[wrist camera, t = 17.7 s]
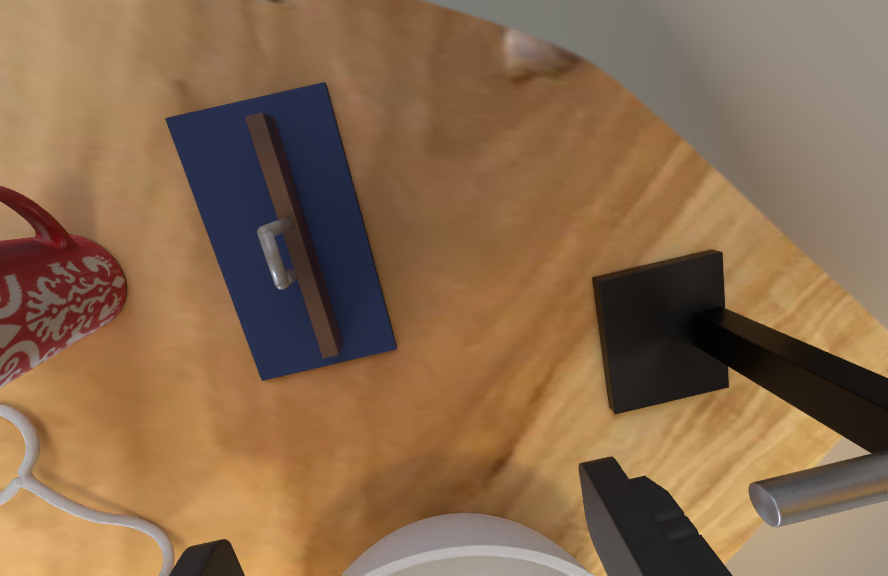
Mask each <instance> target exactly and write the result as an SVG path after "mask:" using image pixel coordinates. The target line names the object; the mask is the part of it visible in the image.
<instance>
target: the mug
mask: <svg viewBox="0 0 888 576" xmlns="http://www.w3.org/2000/svg"><path fill="white" fill-rule="evenodd" d="M0 201H1V202H3V203H4V204H5V205H7V206H9V207H10V208H12V209H13V210H14V211H16V212H17V213H18V214H19V215H21V216H22V217H23V218H24V219H25V220H27V221H28V222H29V223H30V225H31V226H32V227H33V228H34V230H35V232H36V236H35V237H30V238H22V239H13V240H4V241H0V388H1V387H3V386H5V385H6V384H8V383H10V382H11V381H13V380H14V379H16V378H18V377H19V376H21V375H23V374H24V373H26V372H28V371H30V370H31V369H33V368H34V367H36V366H37V365H39V364H41V363H42V362H44V361H45V360H47V359H49V358H51V357H52V356H54V355H56V354H58V353H59V352H61V351H63V350H64V349H66V348H67V347H69V346H70V345H72V344H73V343H75V342H77V341H79V340H80V339H82V338H84V337H85V336H87V335H89V334H91V333H92V332H94V331H96V330H98V329H99V328H101V327H103V326H104V325H106V324H107V323H109V322H110V321H111V320H113V319H114V318H115V317H116V316H117V315H118V313H119V312H120V311H121V309H122V306H123V304H124V302H125V297H126V284H125V279H124V276H123V273H122V271H121V269H120V267H119V265H118V263H117V262H116V261H115V259H114V258H113V257H112V256H111V255H110V254H109V253H108V252H107V251H106V250H105V249H104V248H102V247H101V246H100V245H98V244H96V243H95V242H93V241H91V240H89V239H86V238H84V237H80V236H76V235H71V234H68V232H67V231H66V230H65V229H64V228H63V227H62V226H61V225H60V223H59V222H58V221H57V220H56V219H54V218H53V217H52V216H51V215H50V214H49V213H48V212H47V211H46V210H44V209H43V208H42V207H40V206H39V205H38V204H37V203H35V202H34V201H32V200H31V199H29V198H27V197H26V196H24V195H22V194H20V193H18V192H16V191H13V190H11V189H9V188H6V187H3V186H0Z"/></svg>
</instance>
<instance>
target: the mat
mask: <svg viewBox="0 0 888 576" xmlns="http://www.w3.org/2000/svg"><path fill="white" fill-rule="evenodd" d="M259 113H264V114H267V115H269V116H272V117H274V118H275V121H276V125H277V128H278V131H279V134H280V138H281V141H282V144H283V147H284V151H285V154H286V157H287V160H288V164H289V167H290V170H291V173H292V177H293V180H294V183H295V186H296V190H297V193H298V196H299V199H300V203H301V206H302V209H303V212H304V216H305V219H306V222H307V225H308V229H309V232H310V235H311V238H312V242H313V245H314V248H315V251H316V255H317V258H318V261H319V264H320V268H321V271H322V274H323V277H324V281H325V284H326V287H327V290H328V294H329V297H330V300H331V303H332V307H333V310H334V313H335V316H336V320H337V323H338V326H339V329H340V333H341V336H342V339H343V345H342V348H341V350H340V352H339V355H335V356H331V357H327V358H323V356H322V353H321V350H320V347H319V344H318V341H317V338H316V335H315V332H314V329H313V326H312V322H311V319H310V316H309V313H308V310H307V307H306V304H305V301H304V298H303V295H302V292H301V289H300V286H299V282H298V279H297V278H296V280H295V281H294V282H292V283H291V284H290V285H289V286H288V287H287V288H285V289H278V288H277V287H276V286H275V284H274V281H273V278H272V275H271V272H270V269H269V266H268V263H267V260H266V257H265V254H264V251H263V249H262V246H261V243H260V240H259V237H258V234H257V231H258V229H259V227H261V226H263V225H266V224H269V223H272V222H275V221H277V220H278V218H277V215H276V212H275V209H274V206H273V202H272V199H271V196H270V193H269V190H268V187H267V184H266V181H265V178H264V175H263V172H262V169H261V166H260V162H259V159H258V156H257V153H256V150H255V147H254V144H253V141H252V138H251V135H250V132H249V129H248V126H247V122H246V119H245V117H246V116H250V115H254V114H259ZM165 119H166V122H167V125H168V127H169V130H170V133H171V135H172V138H173V141H174V144H175V146H176V149H177V152H178V154H179V157H180V160H181V163H182V165H183V168H184V171H185V173H186V176H187V179H188V182H189V184H190V187H191V190H192V192H193V195H194V198H195V201H196V203H197V206H198V209H199V211H200V214H201V217H202V220H203V222H204V225H205V228H206V230H207V233H208V236H209V239H210V241H211V244H212V247H213V249H214V252H215V255H216V258H217V260H218V263H219V266H220V268H221V271H222V274H223V277H224V279H225V282H226V285H227V287H228V290H229V293H230V296H231V298H232V301H233V304H234V306H235V309H236V312H237V315H238V317H239V320H240V323H241V325H242V328H243V331H244V334H245V336H246V339H247V342H248V344H249V347H250V350H251V353H252V355H253V358H254V361H255V363H256V366H257V369H258V372H259V374H260V377H261V380H262V381H263V380H268V379H272V378H276V377H280V376H285V375H289V374H293V373H298V372H302V371H306V370H310V369H315V368H319V367H323V366H327V365H332V364H336V363H340V362H344V361H349V360H353V359H357V358H362V357H366V356H370V355H374V354H379V353H383V352H387V351H391V350H396V349H397V345H396V341H395V338H394V334H393V330H392V326H391V323H390V319H389V315H388V312H387V308H386V304H385V301H384V297H383V293H382V289H381V286H380V282H379V278H378V275H377V271H376V267H375V263H374V260H373V256H372V252H371V249H370V245H369V241H368V237H367V234H366V230H365V226H364V223H363V219H362V215H361V211H360V208H359V204H358V200H357V197H356V193H355V189H354V185H353V182H352V178H351V174H350V171H349V167H348V163H347V160H346V156H345V152H344V148H343V145H342V141H341V137H340V134H339V130H338V126H337V122H336V119H335V115H334V111H333V108H332V104H331V100H330V96H329V93H328V89H327V85H326V83H325V82H324V83H319V84H315V85H311V86H306V87H302V88H297V89H293V90H288V91H284V92H280V93H275V94H271V95H266V96H262V97H257V98H253V99H248V100H244V101H240V102H235V103H231V104H226V105H222V106H217V107H213V108H209V109H204V110H200V111H195V112H191V113H186V114H182V115H178V116H173V117H169V118H165ZM274 238H275V241H276V244H277V247H278V250H279V253H280V256H281V259H282V262H283V265H284V268H285V271H286V270H288V269H292V270H294V267H293V264H292V261H291V258H290V255H289V252H288V249H287V246H286V242H285V239H284V236H283V233H281V234H278V235H276V236H274ZM294 271H295V270H294Z"/></svg>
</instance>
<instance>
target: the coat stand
mask: <svg viewBox="0 0 888 576" xmlns="http://www.w3.org/2000/svg"><path fill="white" fill-rule="evenodd" d="M593 286H594V294H595V301H596V309H597V316H598V324H599V331H600V339H601V346H602V354H603V361H604V369H605V377H606V384H607V392H608V399H609V407H610V408H611V410H612V411H613V412H614V413H615V414H619V413H623V412H628V411H632V410H636V409H640V408H644V407H649V406H653V405H657V404H661V403H665V402H670V401H674V400H678V399H682V398H686V397H691V396H695V395H699V394H703V393H707V392H712V391H716V390H720V389H724V388H728V387H729V378H728V367H730V368H732V369H733V370H735V371H737V372H738V373H740V374H742V375H743V376H745V377H746V378H748V379H750V380H751V381H753V382H755V383H756V384H758V385H760V386H761V387H763V388H765V389H766V390H768V391H770V392H771V393H773V394H774V395H776V396H778V397H779V398H781V399H783V400H784V401H786V402H788V403H789V404H791V405H793V406H794V407H796V408H798V409H799V410H801V411H802V412H804V413H806V414H807V415H809V416H811V417H812V418H814V419H816V420H817V421H819V422H821V423H822V424H824V425H825V426H827V427H829V428H830V429H832V430H834V431H835V432H837V433H839V434H840V435H842V436H844V437H845V438H847V439H849V440H850V441H852V442H853V443H855V444H857V445H859V446H860V447H862V448H864V449H865V450H867V451H868V452H870V453H872V454H869V455H864V456H860V457H856V458H852V459H848V460H844V461H840V462H835V463H831V464H827V465H823V466H819V467H815V468H810V469H806V470H802V471H798V472H794V473H790V474H785V475H781V476H777V477H773V478H769V479H765V480H761V481H756V482H753V483H751V484H750V485H749V490H748V491H749V496H750V499H751V502H752V504H753V506H754V508H755V510H756V511H757V513H758V514H759V515H760V517H761V518H762V519H763V520H764V521H765V522H766V523H767V524H769V525H770V526H773V527H780V526H784V525H789V524H793V523H797V522H801V521H805V520H809V519H813V518H817V517H821V516H825V515H829V514H833V513H838V512H842V511H846V510H850V509H854V508H859V507H862V506H867V505H870V504H875V503H879V502H883V501H887V500H888V378H886V377H884V376H881V375H879V374H877V373H874V372H872V371H870V370H868V369H865V368H863V367H861V366H858V365H856V364H854V363H851V362H849V361H847V360H844V359H842V358H840V357H837V356H835V355H833V354H830V353H828V352H826V351H823V350H821V349H819V348H816V347H814V346H812V345H809V344H807V343H805V342H802V341H800V340H798V339H795V338H793V337H791V336H788V335H786V334H784V333H781V332H779V331H777V330H774V329H772V328H770V327H767V326H765V325H763V324H760V323H758V322H756V321H753V320H751V319H749V318H746V317H744V316H742V315H739V314H737V313H735V312H732V311H730V310H728V309H725V295H724V275H723V254H722V252H720V251H716V250H709V251H704V252H700V253H696V254H691V255H687V256H683V257H679V258H674V259H670V260H666V261H661V262H657V263H653V264H649V265H644V266H640V267H636V268H631V269H627V270H623V271H619V272H614V273H610V274H606V275H601V276H597V277H593Z"/></svg>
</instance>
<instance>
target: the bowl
mask: <svg viewBox="0 0 888 576" xmlns="http://www.w3.org/2000/svg"><path fill="white" fill-rule="evenodd" d="M341 576H594V575H593V574H591V573H590V572H589V571H588V570H587V569H586V568H585V567H584V566H583V565H582V564H581V563H579V562H578V561H577V560H576V559H575V558H574V557H573V556H572V555H570V554H569V553H568V552H567V551H566V550H564V549H563V548H562V547H560V546H559V545H557V544H556V543H555V542H553V541H552V540H550V539H549V538H547V537H546V536H544V535H542V534H540V533H539V532H537V531H535V530H533V529H531V528H529V527H527V526H524V525H522V524H520V523H517V522H515V521H512V520H508V519H505V518H502V517H497V516H492V515H487V514H479V513H452V514H444V515H438V516H433V517H429V518H425V519H422V520H419V521H416V522H413V523H410V524H408V525H406V526H404V527H402V528H399V529H397V530H396V531H394V532H392V533H390V534H389V535H387V536H385V537H384V538H382V539H381V540H379V541H378V542H376V543H375V544H373V545H372V546H371V547H370V548H368V549H367V550H366V551H365V552H364V553H362V554H361V555H360V556H359V557H358V558H357V559H356V560H355V561H354V562H353V563H352V564H351V565H350V566H349V567H348V568H347V569H346V570H345V571H344V572H343V573H342V575H341Z"/></svg>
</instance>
